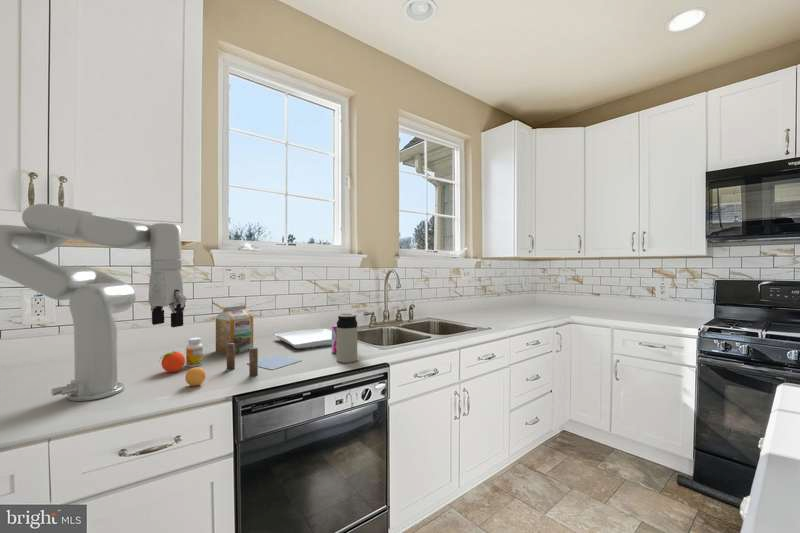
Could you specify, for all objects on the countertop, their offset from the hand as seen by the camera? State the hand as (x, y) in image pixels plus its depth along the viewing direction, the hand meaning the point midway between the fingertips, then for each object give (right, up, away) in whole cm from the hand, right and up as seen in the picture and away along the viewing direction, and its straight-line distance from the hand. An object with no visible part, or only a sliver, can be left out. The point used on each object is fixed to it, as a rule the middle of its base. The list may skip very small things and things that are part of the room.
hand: (167, 325), depth 106 cm
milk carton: (-3, -19, +50) cm, 53 cm away
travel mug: (+47, -20, +36) cm, 62 cm away
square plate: (+26, -19, +67) cm, 75 cm away
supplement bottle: (-8, -19, +28) cm, 35 cm away
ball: (+5, -17, +6) cm, 19 cm away
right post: (+18, -20, +17) cm, 32 cm away
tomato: (-11, -20, +19) cm, 30 cm away
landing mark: (+20, -19, +32) cm, 42 cm away
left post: (+8, -19, +23) cm, 31 cm away
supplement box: (+43, -19, +48) cm, 67 cm away
